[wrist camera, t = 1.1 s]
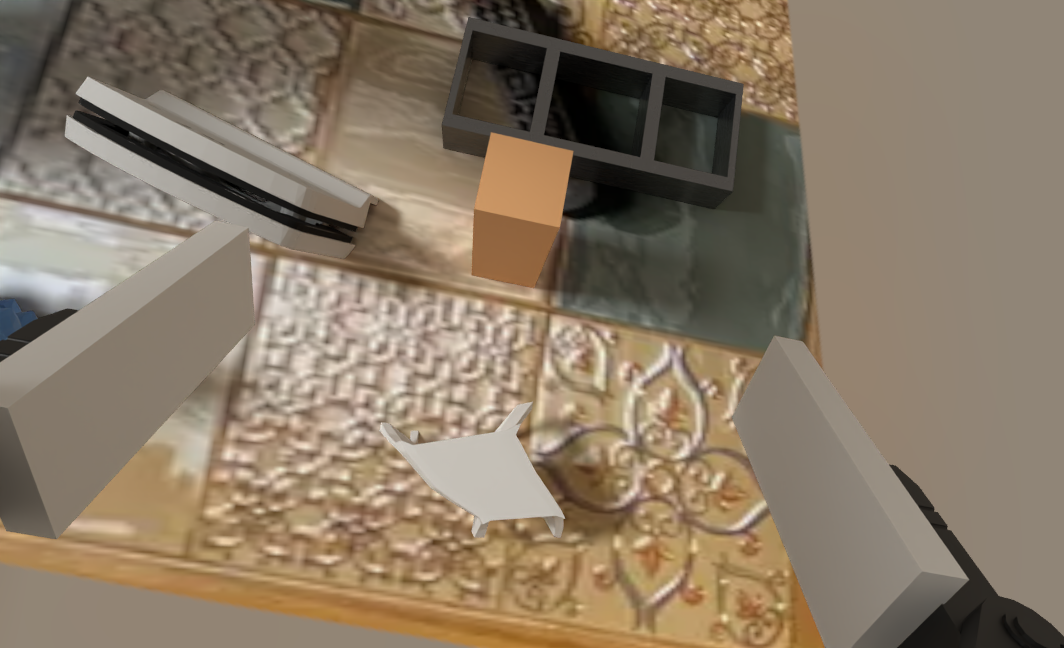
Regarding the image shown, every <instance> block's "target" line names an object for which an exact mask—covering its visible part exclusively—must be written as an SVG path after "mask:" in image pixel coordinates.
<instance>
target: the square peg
mask: <svg viewBox="0 0 1064 648" xmlns="http://www.w3.org/2000/svg"><path fill="white" fill-rule="evenodd" d="M572 156H573V151H571V150H567V149H562V148H558V147H553V146H549V145H545V144H540V143H536V142H532V141H527V140H523V139H518V138H514V137H510V136H505V135H501V134H496V133H492V132H491V135H490V139H489V144H488V148H487V153H486V157H485V162H484V166H483V171H482V175H481V180H480V184H479V189H478V193H477V198H476V202H475V207H474V223H473V251H472V275H474V276H479V277H484V278H488V279H493V280H498V281H503V282H508V283H512V284H517V285H522V286H527V287H532V288H534V287H535V284H536V282H537V280H538V277H539V275H540V273H541V270H542V268H543V266H544V263H545V261H546V259H547V256H548V254H549V252H550V249H551V247H552V245H553V242H554V240H555V237H556V235H557V233H558V230H559V228H560V223H561V218H562V212H563V207H564V201H565V195H566V190H567V184H568V179H569V173H570V168H571V162H572Z"/></svg>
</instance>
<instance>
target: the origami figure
mask: <svg viewBox="0 0 1064 648" xmlns="http://www.w3.org/2000/svg"><path fill="white" fill-rule="evenodd" d="M532 404H533V402H530V403H525V404H520V405H517V406H516V407H515V408H514V409H513V411H512V412H511V413H510V414H509V415H508V417H507V418H506V419H505V420H504V421H503V423H502V424H501V425H500V426H499V428H498V429H497V430H496V431H495V432H493V433H487V434H480V435H474V436H468V437H461V438H455V439H448V440H442V441H436V442H429V443H423V444H418V431H411V436H410V439H409V438H407V437H406V436H405V435H404V434H402V433H401V432H400V431H398V430H397V429H396V428H395V427H393V426H392V425H391V424H389V423H382V422H381V426H380V431H381V433H382V434H383V435H384V436H385V438H386V439H387V440H388V441H389V442H390V443H391V444H392V445H393V446H394V447H395V448H396V449H397V450H398V451H399V452H400V453H401V454H402V455H403V457H404V458H405V459H406V460H407V461H408V462H409V463H410V465H411V466H412V467H413V468H414V469H415V470H416V472H417V473H418V474H419V475H420V476H421V477H422V478H423V480H424V481H425V482H426V483H427V484H428V485H429V487H430V488H431V489H433V490H434V491H436V492H437V493H439V494H440V495H442V496H443V497H445V498H446V499H448V500H449V501H451V502H452V503H454V504H455V505H457V506H459V507H460V508H462V509H464V510H465V511H467V512H469V513H470V514H472V515H474V521H473V526H472V533H473V536H474V537H484V536H485V533H486V530H487V526H488V522H489V521H491V520H504V519H518V518H532V517H541V518H544V519H545V521H546V523H547V525H548V527H549V528H550V530H551V532H552V534H553V536H554V537H559V538H561V535H562V531H563V519H565V517H564V515H563V513H562V511H561V509H560V507H559V506H558V504H557V503H556V501H555V500H554V498H553V497H552V495H551V493H550V492H549V490H548V489H547V488H546V486H545V485H544V483H543V482H542V480H541V479H540V477H539V476H538V475H537V473H536V471H535V469H534V467H533V466H532V464H531V462H530V460H529V458H528V456H527V454H526V453H525V451H524V449H523V447H522V445H521V443H520V441H519V439H518V438H517V436H516V433H517V431H518V429H519V426H520V424H521V423H522V422H523V420H524V419H525V418H526V417H527V415H528V414H529V413H530V411H531V410H532ZM552 516H553V517H554V518H553V517H552Z"/></svg>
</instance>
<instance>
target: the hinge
mask: <svg viewBox="0 0 1064 648" xmlns="http://www.w3.org/2000/svg"><path fill="white" fill-rule="evenodd" d="M76 94H77V95H78V96H80V97H81V98H80V100H79V104H80V105H82V106H84V107H86V108H87V109H89V110H91V111H93V112H94V113H96V114H98V115H100V116H102V117H103V118H105V119H102V118H99V117H96V116H93V115H90V114H87V113H84V112H81V111H75V113H74V115H73V116H72V115H67V119H66V129H65V137H66V138H68V139H69V140H71V141H72V142H74V143H76V144H77V145H79V146H80V147H82V148H84V149H85V150H87V151H89V152H90V153H92V154H94V155H96V156H98V157H99V158H101V159H103V160H105V161H106V162H108V163H110V164H112V165H114V166H115V167H117V168H119V169H121V170H123V171H125V172H127V173H128V174H130V175H132V176H134V177H136V178H138V179H140V180H142V181H144V182H146V183H148V184H150V185H152V186H154V187H156V188H158V189H160V190H162V191H164V192H166V193H168V194H170V195H172V196H174V197H176V198H178V199H180V200H182V201H184V202H186V203H188V204H190V205H192V206H194V207H197V208H199V209H201V210H203V211H205V212H207V213H209V214H211V215H213V216H216V217H218V218H220V219H222V220H224V221H226V222H229V223H231V224H235V225H240V226H244V227H249V232H251V233H253V234H255V235H258V236H260V237H262V238H264V239H267V240H269V241H271V242H273V243H276V244H278V245H281V246H283V247H286V248H289V249H293V250H298V251H304V252H309V253H314V254H320V255H325V256H331V257H336V258H342V259H345V258H346V257H347V256H348V255H349V254H350V252H351V251H352V250H353V248H354V247H355V245H354V244H352V243H351V241H352V237H350V236H348V235H346V234H344V233H342V232H340V231H338V230H336V229H334V228H332V227H330V226H328V224H331V225H334V226H338V227H341V228H345V229H348V230H351V231H355V232H356V230H357V228H358V227H361V228H364V225H365V221H366V217H367V213H368V210H369V206H370V203H371V204H374V205H377V203H378V201H379V199H378V198H376V197H374V196H372V195H370V194H368V193H366V192H364V191H362V190H360V189H358V188H356V187H354V186H352V185H350V184H348V183H346V182H345V181H343V180H341V179H339V178H337V177H335V176H333V175H331V174H329V173H327V172H325V171H323V170H321V169H319V168H317V167H315V166H313V165H311V164H309V163H307V162H305V161H303V160H301V159H299V158H297V157H295V156H293V155H291V154H289V153H287V152H285V151H283V150H281V149H279V148H277V147H275V146H273V145H271V144H269V143H267V142H265V141H264V140H262V139H260V138H258V137H256V136H254V135H252V134H250V133H248V132H246V131H244V130H242V129H240V128H238V127H236V126H234V125H232V124H230V123H228V122H226V121H224V120H222V119H220V118H218V117H216V116H214V115H212V114H210V113H208V112H206V111H204V110H202V109H200V108H198V107H196V106H194V105H192V104H190V103H188V102H186V101H185V100H183V99H181V98H179V97H176V96H174V95H172V94H170V93H168V92H166V91H164V90H159V91H158V92H156V93H154V94H153V95H151V96H149V97H148V98H146V99H142V98H140V97H137V96H135V95H132V94H130V93H128V92H125V91H123V90H120V89H118V88H116V87H113V86H111V85H108V84H106V83H103V82H101V81H99V80H96V79H94V78H91V77H87V78H86V80H85V81H84V82H83V84H82V85H81V86H80V88H79V89H78V91H77V92H76ZM106 119H107V120H106ZM224 180H226V181H228V182H231V183H233V184H235V185H237V186H239V187H241V188H243V189H245V190H247V191H249V192H252V193H254V194H256V195H258V196H260V197H262V198H264V199H266V200H268V202H261V201H259V200H257V199H255V198H253V197H251V196H249V195H247V194H245V193H243V192H241V191H239V190H237V189H235V188H233V187H231V186H229V185H228V184H227V183H226V182H225V181H224Z"/></svg>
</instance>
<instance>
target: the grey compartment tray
mask: <svg viewBox="0 0 1064 648" xmlns="http://www.w3.org/2000/svg"><path fill="white" fill-rule="evenodd" d="M472 59H475V60H480V61H484V62H488V63H492V64H496V65H501V66H505V67H509V68H513V69H517V70H522V71H526V72H530V73H534V74H538V75H541V80H540V85H539V90H538V95H537V100H536V105H535V110H534V114H533V119H532V124H531V129H530V132H528V131H524V130H519V129H515V128H511V127H506V126H502V125H498V124H493V123H489V122H484V121H480V120H476V119H471V118H467V117H463V116H458V115H459V111H460V107H461V103H462V99H463V94H464V90H465V86H466V82H467V78H468V74H469V69H470V65H471V61H472ZM555 79H559V80H564V81H568V82H572V83H576V84H581V85H585V86H589V87H593V88H597V89H602V90H606V91H610V92H614V93H618V94H623V95H627V96H631V97H635V98H639V99H640V102H639V109H638V116H637V122H636V129H635V136H634V142H633V149H632V155H628V154H624V153H619V152H615V151H611V150H606V149H602V148H598V147H593V146H589V145H585V144H580V143H576V142H572V141H567V140H563V139H558V138H554V137H550V136H545V135H544V133H545V127H546V122H547V117H548V112H549V107H550V102H551V97H552V92H553V87H554V81H555ZM743 85H744V84H742V83H737V82H733V81H729V80H725V79H721V78H717V77H713V76H709V75H705V74H700V73H696V72H692V71H688V70H684V69H680V68H676V67H672V66H668V65H663V64H659V63H655V62H651V61H647V60H643V59H639V58H635V57H631V56H626V55H622V54H618V53H614V52H610V51H606V50H602V49H598V48H594V47H589V46H585V45H581V44H577V43H573V42H569V41H565V40H561V39H557V38H552V37H548V36H544V35H540V34H536V33H532V32H528V31H524V30H520V29H516V28H511V27H507V26H503V25H499V24H495V23H491V22H487V21H483V20H479V19H474V18H470V17H468V21H467V26H466V30H465V34H464V38H463V42H462V46H461V50H460V54H459V58H458V62H457V66H456V70H455V74H454V78H453V82H452V86H451V90H450V94H449V98H448V102H447V106H446V110H445V114H444V118H443V122H442V134H443V148H445V149H449V150H454V151H458V152H463V153H467V154H472V155H476V156H481V157H486V153H487V148H488V144H489V139H490V135H491V132H492V133H496V134H501V135H505V136H510V137H514V138H518V139H523V140H527V141H532V142H536V143H540V144H545V145H549V146H553V147H558V148H562V149H567V150H571V151H573V156H572V162H571V168H570V173H569V176H570V177H574V178H578V179H583V180H587V181H592V182H596V183H601V184H605V185H610V186H614V187H618V188H623V189H627V190H632V191H636V192H641V193H645V194H650V195H654V196H659V197H663V198H667V199H672V200H676V201H681V202H685V203H690V204H694V205H699V206H703V207H707V208H712V209H715V208H716V207H717V206H718V205H719V204H720V203H721V202H722V201H723V200H724V199H725V198H727V197H728V196H729V195H730V194H731V193H732V192H733V186H734V176H735V166H736V155H737V145H738V135H739V125H740V115H741V105H742V95H743ZM662 104H665V105H669V106H673V107H677V108H681V109H686V110H690V111H694V112H698V113H702V114H707V115H711V116H715V117H718V124H717V133H716V142H715V151H714V160H713V169H712V174H711V173H707V172H702V171H698V170H693V169H689V168H685V167H680V166H676V165H672V164H667V163H663V162H659V161H654V156H655V149H656V142H657V135H658V127H659V120H660V113H661V106H662Z"/></svg>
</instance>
